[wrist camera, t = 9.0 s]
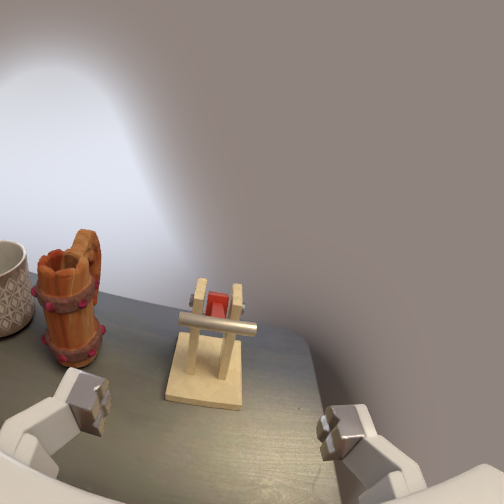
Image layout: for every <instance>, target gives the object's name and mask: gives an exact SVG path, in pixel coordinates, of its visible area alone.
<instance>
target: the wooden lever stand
mask: <svg viewBox="0 0 504 504" xmlns="http://www.w3.org/2000/svg"><path fill="white" fill-rule="evenodd" d="M206 284H207V279H203V278H199V279H198V283H197V287H196V291H195V295H194V294H191V296H190V303H189V306H190V307H193V309H192V313H193V314H198V315H202V313H203V306H204V298H205V291H206ZM244 307H245V303H244V302H242V285H240V284H233V288H232V293H231V298H230V303H229V308H228V313H227V318H226V319H230V320H237V321H239V319H240V315H243V313H244ZM235 337H236V334H231V333H224V334H223V339H222V338H215V337H208V336H202V335H200V329H198V328H192V327H190V333H184V332H180V333H179V337H178V341H177V345H176V349H175V354H174V358H173V362H172V366H171V371H170V375H169V379H168V384H167V388H166V393H165V400H169V401H174V402H180V403H186V404H192V405H199V406H206V407H213V408H221V409H231V410H241V407H242V379H241V341H236V340H235Z"/></svg>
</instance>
